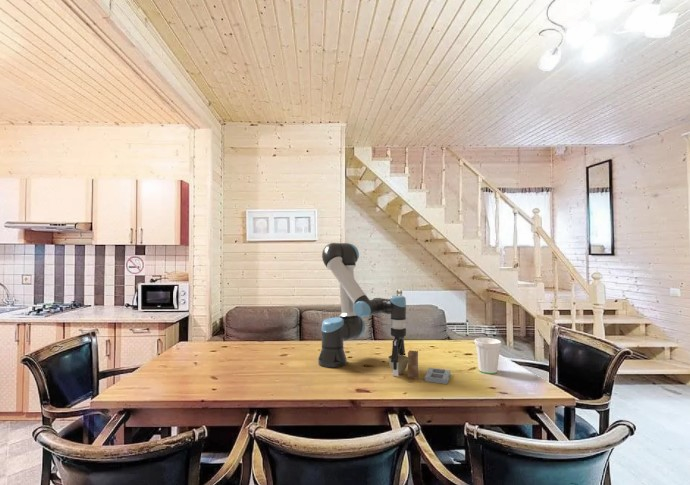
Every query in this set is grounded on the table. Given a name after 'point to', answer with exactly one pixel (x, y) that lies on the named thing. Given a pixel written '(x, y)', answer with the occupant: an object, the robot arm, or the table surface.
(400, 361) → the flower pot
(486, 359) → the cup
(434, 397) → the table surface
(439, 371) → the grey window frame
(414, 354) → the peg
